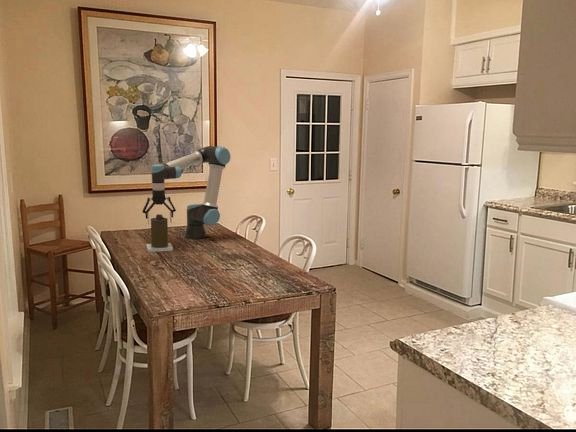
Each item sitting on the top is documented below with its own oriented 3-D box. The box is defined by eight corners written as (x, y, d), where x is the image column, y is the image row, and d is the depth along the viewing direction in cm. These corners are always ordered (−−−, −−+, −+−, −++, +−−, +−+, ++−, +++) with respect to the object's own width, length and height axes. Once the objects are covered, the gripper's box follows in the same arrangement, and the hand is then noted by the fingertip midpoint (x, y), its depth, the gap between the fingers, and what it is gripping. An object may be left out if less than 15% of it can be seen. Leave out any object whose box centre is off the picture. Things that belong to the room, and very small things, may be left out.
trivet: (170, 245, 317) (170, 242, 317) (173, 250, 303) (172, 248, 303) (146, 246, 312) (146, 243, 312) (147, 252, 298) (147, 249, 298)
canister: (165, 248, 302) (165, 216, 298) (148, 247, 302) (148, 216, 298) (170, 244, 312) (169, 213, 309) (154, 243, 313) (153, 213, 309)
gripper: (178, 188, 309) (179, 221, 313) (137, 189, 300) (138, 223, 304) (179, 189, 302) (180, 223, 306) (137, 191, 293) (139, 225, 297)
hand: (159, 223), depth 305 cm, fingers open, 13 cm apart
